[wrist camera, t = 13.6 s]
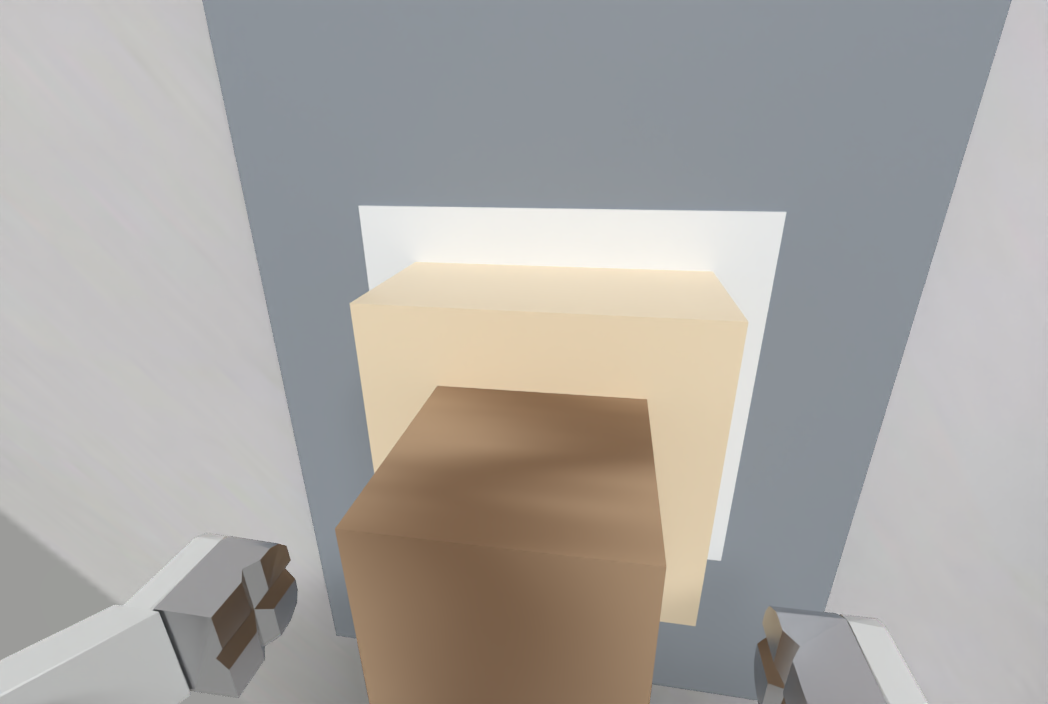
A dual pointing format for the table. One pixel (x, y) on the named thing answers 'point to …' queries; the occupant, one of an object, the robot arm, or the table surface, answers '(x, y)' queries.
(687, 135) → the board
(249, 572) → the robot arm
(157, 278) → the table surface
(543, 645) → the walnut cube
